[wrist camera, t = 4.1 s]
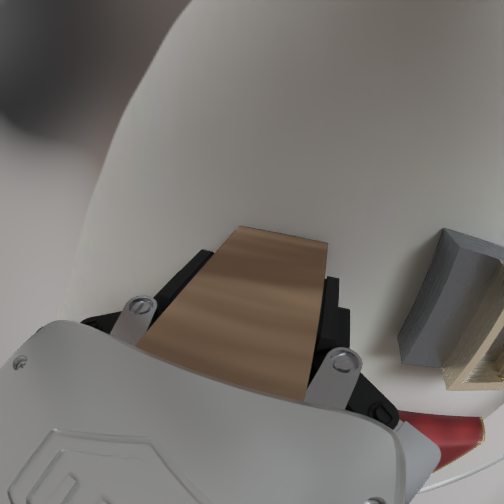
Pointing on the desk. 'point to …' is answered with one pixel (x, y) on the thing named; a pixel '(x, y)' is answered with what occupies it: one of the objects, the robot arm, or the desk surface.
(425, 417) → the hardcover book
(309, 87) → the desk surface
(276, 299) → the walnut block
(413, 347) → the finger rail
